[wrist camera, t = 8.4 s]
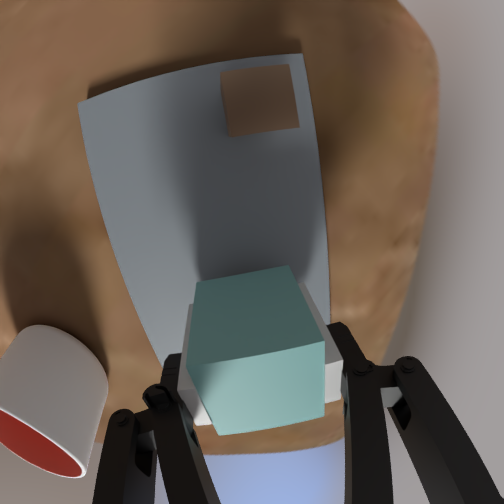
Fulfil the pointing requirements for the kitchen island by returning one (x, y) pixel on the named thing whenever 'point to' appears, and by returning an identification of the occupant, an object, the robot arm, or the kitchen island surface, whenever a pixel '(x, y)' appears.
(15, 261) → the kitchen island surface
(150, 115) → the board
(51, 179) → the kitchen island surface
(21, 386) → the cup
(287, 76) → the walnut post
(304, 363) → the teal block
